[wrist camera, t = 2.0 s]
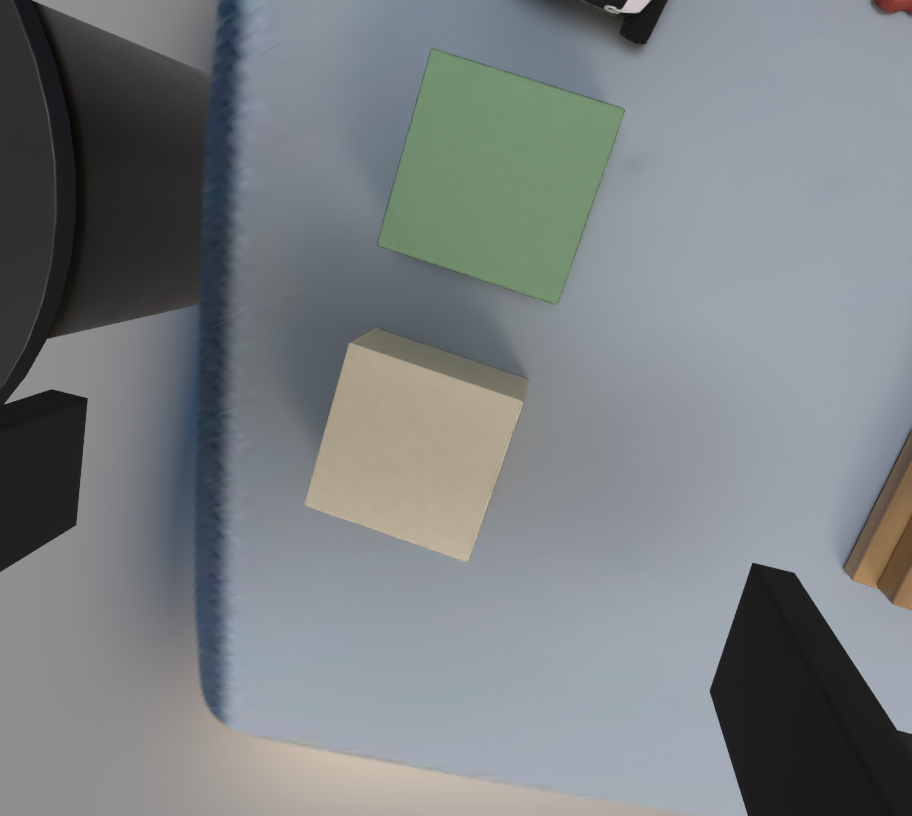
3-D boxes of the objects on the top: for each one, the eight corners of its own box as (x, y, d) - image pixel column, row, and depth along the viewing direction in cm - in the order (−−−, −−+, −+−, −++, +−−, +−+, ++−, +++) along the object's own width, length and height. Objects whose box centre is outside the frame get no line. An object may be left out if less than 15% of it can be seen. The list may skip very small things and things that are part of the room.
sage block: (399, 242, 30) (375, 245, 27) (448, 70, 29) (430, 47, 25) (558, 294, 30) (557, 305, 26) (617, 123, 28) (625, 108, 25)
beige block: (333, 472, 33) (303, 505, 29) (375, 327, 31) (348, 342, 28) (478, 522, 33) (467, 563, 29) (529, 379, 31) (523, 401, 27)
